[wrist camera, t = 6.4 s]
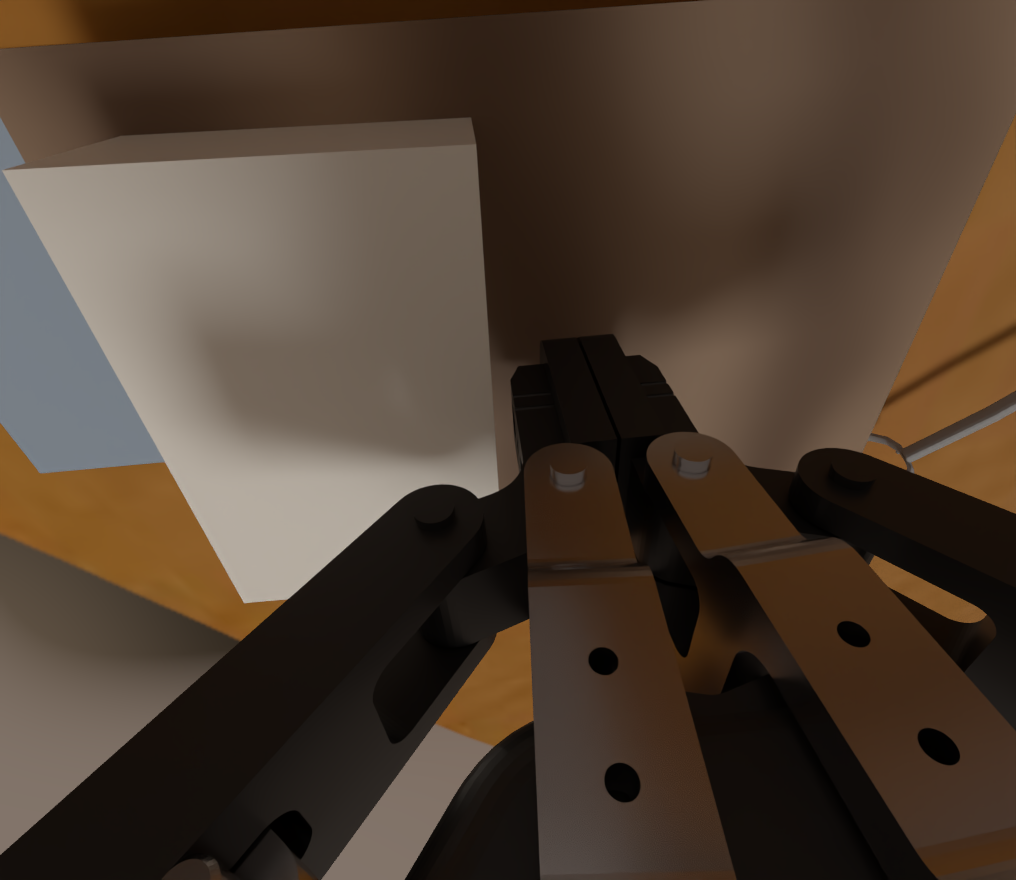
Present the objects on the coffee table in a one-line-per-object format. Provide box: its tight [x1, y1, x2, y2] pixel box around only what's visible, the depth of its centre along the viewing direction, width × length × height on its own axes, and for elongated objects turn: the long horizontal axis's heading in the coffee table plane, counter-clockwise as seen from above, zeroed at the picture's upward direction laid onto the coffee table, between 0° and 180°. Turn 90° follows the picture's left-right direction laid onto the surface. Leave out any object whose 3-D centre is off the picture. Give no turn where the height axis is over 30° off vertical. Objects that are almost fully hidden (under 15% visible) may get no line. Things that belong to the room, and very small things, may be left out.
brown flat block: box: [0, 0, 1016, 490], centre depth 14 cm, size 18×12×4 cm, turn 93°
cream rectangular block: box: [2, 117, 499, 603], centre depth 11 cm, size 6×9×3 cm, turn 2°
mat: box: [0, 118, 165, 473], centre depth 15 cm, size 7×11×1 cm, turn 3°
